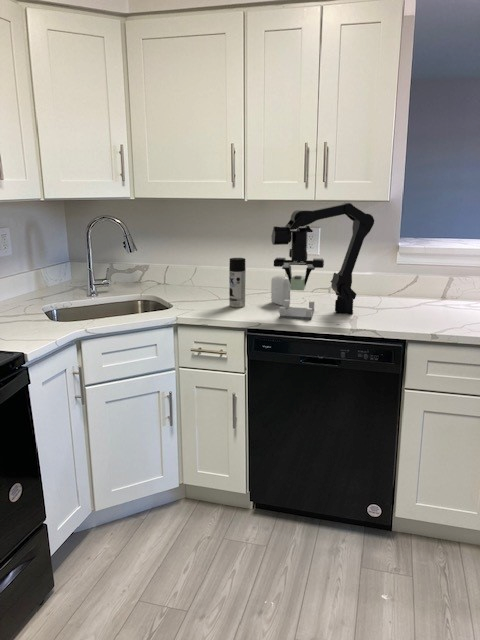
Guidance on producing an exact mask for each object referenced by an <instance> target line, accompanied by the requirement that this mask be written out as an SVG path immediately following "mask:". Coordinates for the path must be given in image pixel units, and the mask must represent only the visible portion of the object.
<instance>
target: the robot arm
mask: <svg viewBox="0 0 480 640" xmlns="http://www.w3.org/2000/svg"><path fill="white" fill-rule="evenodd" d="M342 215H345V216H347V218H348V219H350V220H351V221H352V228H351V230H352V236H351V239H350V242H349V245H348V248H347V251H346V253H345V256H344V259H343V262H342V265H341V268H340V270H339V271H338V272H337V273H336V272H333V274H332V279H331V280H330V283H331V285H330V287H331V288H332V291H333V292H335V296H336V299H335V305H334V311H335V314H336V315H337V314H339V315H354V310H353V309H354V300H355V299H356V297H357V293H356V292H355V291H354V290H353V289H352V284H353V272H354V268H355V266H356V263H357V260H358V258H359V254H360V252H361V248H362V245H363V243H364V239H365V238H366V236H368V234H370V232H371V230H372V228H373V226H374V224H375V217H374V216H373V215H372V214H370V213H366V212H364V211H362V210H360V209H359V208H357V207H356V206H354V205H353V204H352V203H350V202H344V203H340V204H336V205H332V206H327V207H322V208H317V209H299V210H294V211H293V212H292V213H291V215H290V219H289V221H288V222H287V223H286V225H285V226H278V225H277V226H273V227H272V228H273V229H272V233H271V244H272V245H273V246H277V245H278V246H279V245H280V246H281V245H284V246H286V245H288V244H290V243H291V248H290V249H289V255H288V257H289V258H291V259H286V257H276V258H275V259H274V260H273V267H275V268H278V267H279V268H281V269H282V270H284V272H285V273H286V275H287V278H288V279H289V281H290V285H291V278H292V277H293V275H292V274H293V273H292V266H307V267H306V269H305V270H306V271H305V275H304V276H305V285H306V286H307V282H308V281H309V277H310V274H311V272H312V271H314V270H315V269H322V268H323V269H324V265H325V259H323V258H313V259H312V260H308V251H307V250H308V233H313V232H314V231H313V229H311V227H310V225H311V224H313V223H315V222H316V221H319V220H323V219H324V220H325V219H327V218H334V217H338V216H342Z"/></svg>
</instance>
